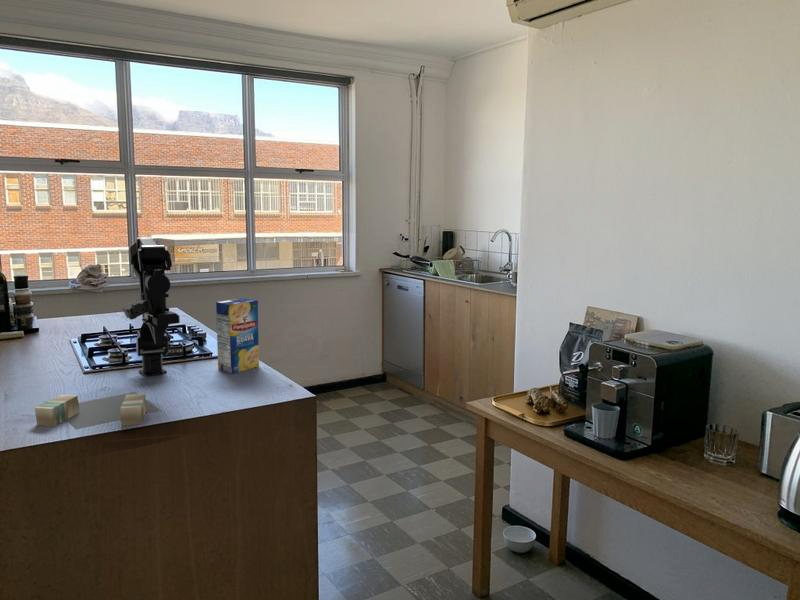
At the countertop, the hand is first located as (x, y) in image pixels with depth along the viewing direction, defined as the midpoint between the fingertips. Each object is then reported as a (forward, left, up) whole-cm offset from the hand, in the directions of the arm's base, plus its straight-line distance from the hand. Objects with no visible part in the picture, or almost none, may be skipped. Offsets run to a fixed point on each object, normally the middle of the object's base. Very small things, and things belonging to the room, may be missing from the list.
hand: (157, 344), depth 172 cm
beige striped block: (+6, -25, -10) cm, 28 cm away
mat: (+9, -17, -13) cm, 23 cm away
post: (+16, -12, -10) cm, 23 cm away
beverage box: (-4, +27, -13) cm, 30 cm away
